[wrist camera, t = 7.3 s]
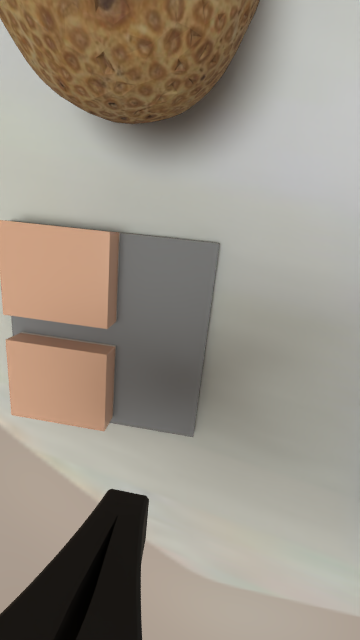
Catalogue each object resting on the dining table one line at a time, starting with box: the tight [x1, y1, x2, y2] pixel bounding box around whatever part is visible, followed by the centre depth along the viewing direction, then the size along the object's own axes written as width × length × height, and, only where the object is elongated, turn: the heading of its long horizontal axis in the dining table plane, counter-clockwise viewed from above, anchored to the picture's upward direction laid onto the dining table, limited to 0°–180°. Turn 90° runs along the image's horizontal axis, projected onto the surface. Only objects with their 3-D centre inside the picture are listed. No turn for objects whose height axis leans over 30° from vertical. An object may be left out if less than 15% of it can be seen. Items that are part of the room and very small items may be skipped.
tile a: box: [0, 220, 120, 329], centre depth 16 cm, size 2×5×6 cm
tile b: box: [6, 332, 116, 431], centre depth 17 cm, size 2×5×6 cm
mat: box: [5, 220, 219, 437], centre depth 17 cm, size 12×12×1 cm
